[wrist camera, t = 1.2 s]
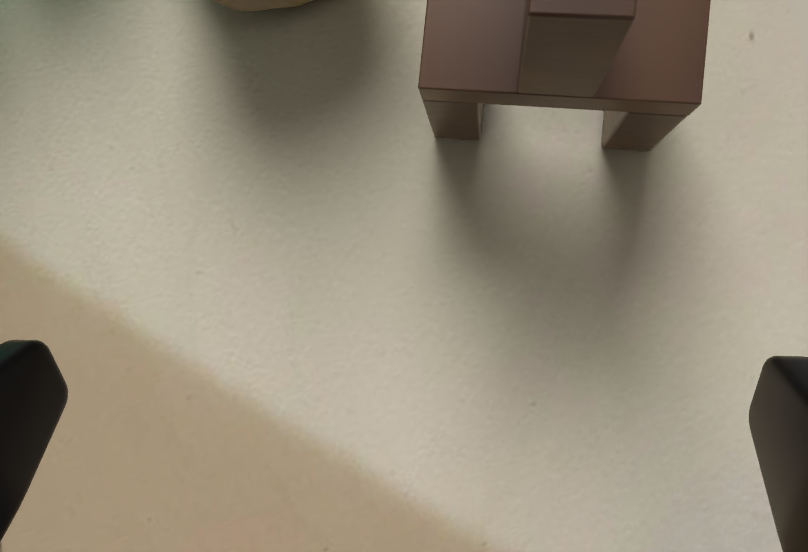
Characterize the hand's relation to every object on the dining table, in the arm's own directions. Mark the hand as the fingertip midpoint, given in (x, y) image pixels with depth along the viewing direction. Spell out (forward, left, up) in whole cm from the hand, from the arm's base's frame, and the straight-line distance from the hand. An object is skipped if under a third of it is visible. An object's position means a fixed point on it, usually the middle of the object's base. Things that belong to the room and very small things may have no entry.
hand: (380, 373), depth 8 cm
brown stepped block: (+6, -6, -13) cm, 16 cm away
